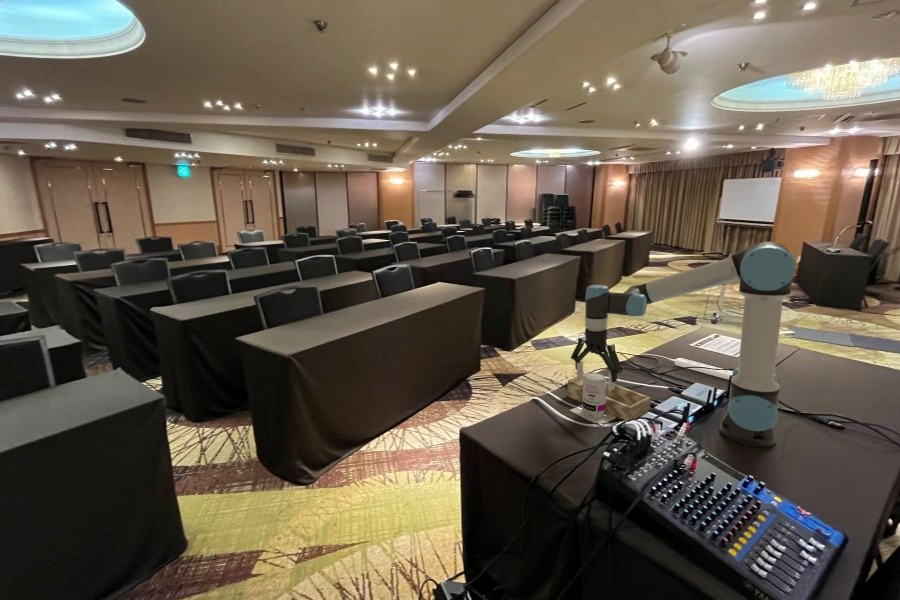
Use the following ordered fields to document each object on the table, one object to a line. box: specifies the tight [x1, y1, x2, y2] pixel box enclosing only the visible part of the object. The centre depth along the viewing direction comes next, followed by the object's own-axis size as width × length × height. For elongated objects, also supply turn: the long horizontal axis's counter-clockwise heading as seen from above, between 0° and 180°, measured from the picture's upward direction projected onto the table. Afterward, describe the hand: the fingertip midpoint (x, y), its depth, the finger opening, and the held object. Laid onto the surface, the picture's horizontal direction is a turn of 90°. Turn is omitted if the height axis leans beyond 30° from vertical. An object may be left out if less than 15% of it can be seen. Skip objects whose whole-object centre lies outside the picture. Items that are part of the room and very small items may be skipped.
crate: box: [566, 371, 651, 420], centre depth 161 cm, size 28×13×7 cm, turn 35°
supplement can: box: [581, 372, 608, 419], centre depth 152 cm, size 8×8×15 cm
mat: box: [569, 404, 617, 425], centre depth 154 cm, size 14×9×1 cm, turn 35°
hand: (595, 383), depth 151 cm, fingers open, 13 cm apart
